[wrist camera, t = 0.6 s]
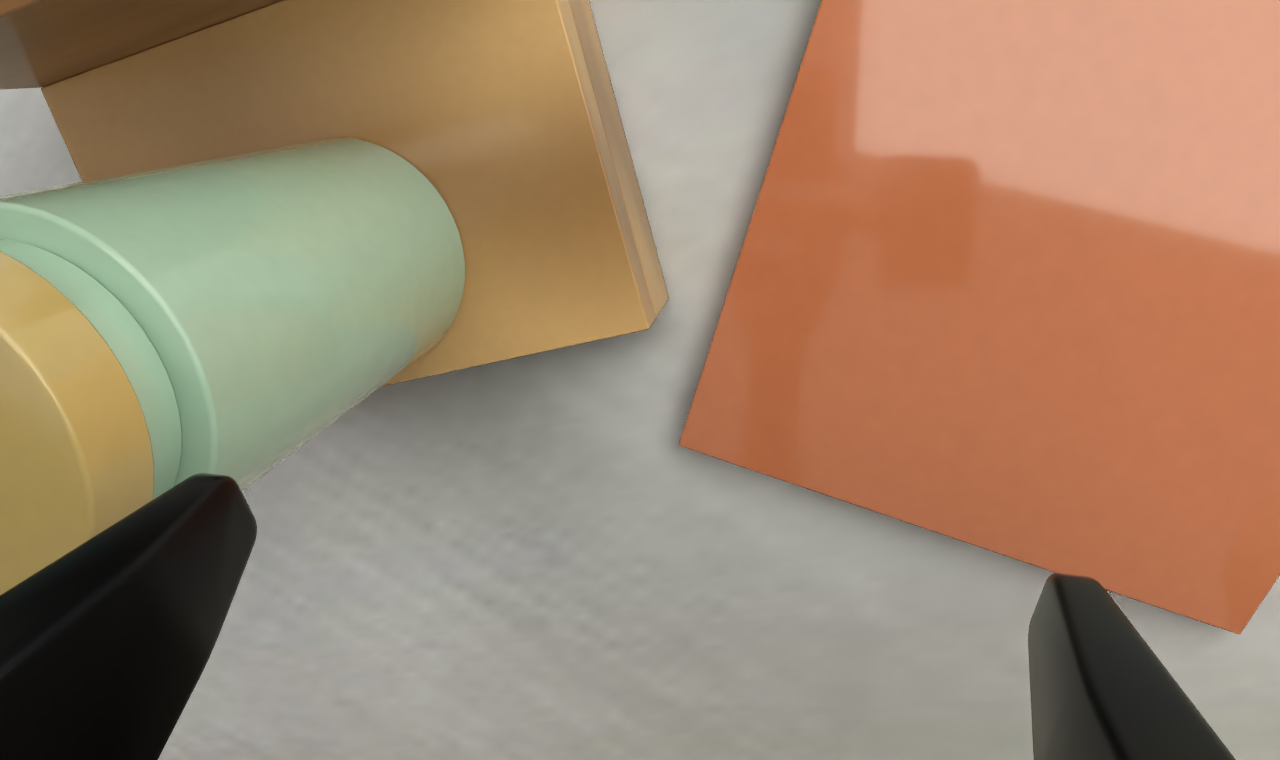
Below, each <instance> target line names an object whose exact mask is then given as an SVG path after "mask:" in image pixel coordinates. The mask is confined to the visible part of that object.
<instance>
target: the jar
mask: <svg viewBox="0 0 1280 760" xmlns="http://www.w3.org/2000/svg"><path fill="white" fill-rule="evenodd" d="M464 283H465V260H464V252H463V246H462V242H461V238H460V234H459V231H458V229H457V226H456V223H455V221H454V218H453V216H452V214H451V212H450V210H449V208H448V206H447V205H446V203H445V201H444V200H443V198H442V197H441V195H440V194H439V192H438V191H437V190H436V188H435V187H434V186H433V185H432V184H431V183H430V181H429V180H428V179H427V178H426V177H425V176H424V175H423V174H422V173H421V172H420V171H419V170H418V169H416V168H415V167H414V166H413V165H412V164H410V163H409V162H408V161H406V160H405V159H403V158H402V157H401V156H399V155H397V154H395V153H394V152H392V151H390V150H388V149H386V148H384V147H381V146H379V145H376V144H374V143H371V142H367V141H363V140H359V139H352V138H342V137H339V138H325V139H319V140H313V141H308V142H302V143H297V144H291V145H285V146H280V147H274V148H269V149H263V150H257V151H252V152H246V153H241V154H235V155H230V156H224V157H218V158H213V159H207V160H202V161H196V162H190V163H185V164H179V165H174V166H168V167H162V168H157V169H151V170H146V171H140V172H134V173H129V174H123V175H118V176H112V177H107V178H101V179H95V180H90V181H84V182H79V183H73V184H67V185H62V186H56V187H51V188H45V189H39V190H34V191H28V192H23V193H17V194H11V195H6V196H0V595H1V594H3V593H5V592H6V591H8V590H9V589H11V588H13V587H14V586H16V585H17V584H19V583H21V582H22V581H24V580H25V579H27V578H29V577H30V576H32V575H33V574H35V573H37V572H38V571H40V570H41V569H43V568H45V567H46V566H48V565H49V564H51V563H53V562H54V561H56V560H57V559H59V558H61V557H62V556H64V555H65V554H67V553H69V552H70V551H72V550H73V549H75V548H77V547H78V546H80V545H81V544H83V543H85V542H86V541H88V540H89V539H91V538H93V537H94V536H96V535H97V534H99V533H101V532H102V531H104V530H105V529H107V528H109V527H110V526H112V525H113V524H115V523H117V522H118V521H120V520H121V519H123V518H125V517H126V516H128V515H129V514H131V513H133V512H134V511H136V510H137V509H139V508H141V507H142V506H144V505H145V504H147V503H149V502H150V501H152V500H153V499H155V498H157V497H158V496H160V495H161V494H163V493H165V492H166V491H168V490H169V489H171V488H173V487H174V486H176V485H177V484H179V483H180V482H182V481H184V480H185V479H187V478H189V477H191V476H192V475H195V474H199V473H209V474H218V475H226V476H230V477H231V478H233V479H234V480H235V481H236V482H237V484H238V486H239V488H240V490H241V492H242V491H243V490H244V489H246V488H247V487H248V486H250V485H251V484H252V483H254V482H255V481H256V480H258V479H259V478H260V477H262V476H263V475H264V474H266V473H267V472H268V471H270V470H271V469H272V468H274V467H275V466H276V465H278V464H279V463H280V462H282V461H283V460H284V459H286V458H287V457H288V456H290V455H291V454H292V453H294V452H295V451H296V450H298V449H299V448H300V447H302V446H303V445H304V444H306V443H307V442H308V441H310V440H311V439H312V438H314V437H315V436H316V435H317V434H319V433H320V432H321V431H323V430H324V429H325V428H327V427H328V426H329V425H331V424H332V423H333V422H335V421H336V420H337V419H339V418H340V417H341V416H343V415H344V414H345V413H347V412H348V411H349V410H351V409H352V408H353V407H355V406H356V405H357V404H359V403H360V402H361V401H363V400H364V399H365V398H367V397H368V396H369V395H371V394H372V393H373V392H375V391H376V390H377V389H379V388H380V387H381V386H383V385H384V384H385V383H387V382H388V381H389V380H391V379H392V378H393V377H394V376H396V375H397V374H398V373H400V372H401V371H402V370H404V369H405V368H406V367H408V366H409V365H410V364H412V363H413V362H414V361H416V360H417V359H418V358H420V357H421V356H422V355H424V354H425V353H426V352H428V351H429V350H430V349H431V348H432V347H433V346H435V345H436V344H437V343H438V342H439V341H440V340H441V338H442V337H443V336H444V335H445V334H446V332H447V331H448V329H449V328H450V326H451V324H452V323H453V321H454V319H455V317H456V314H457V312H458V310H459V307H460V303H461V300H462V296H463V291H464Z"/></svg>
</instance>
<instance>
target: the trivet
mask: <svg viewBox="0 0 1280 760" xmlns="http://www.w3.org/2000/svg"><path fill="white" fill-rule="evenodd" d="M679 445H680V446H682V447H685V448H688V449H691V450H694V451H697V452H700V453H703V454H706V455H709V456H712V457H715V458H718V459H721V460H724V461H727V462H730V463H733V464H735V465H738V466H741V467H744V468H747V469H750V470H753V471H756V472H759V473H762V474H765V475H768V476H771V477H774V478H777V479H780V480H783V481H786V482H789V483H792V484H795V485H798V486H801V487H804V488H807V489H810V490H812V491H815V492H818V493H821V494H824V495H827V496H830V497H833V498H836V499H839V500H842V501H845V502H848V503H851V504H854V505H857V506H860V507H863V508H866V509H869V510H872V511H875V512H878V513H881V514H884V515H887V516H889V517H892V518H895V519H898V520H901V521H904V522H907V523H910V524H913V525H916V526H919V527H922V528H925V529H928V530H931V531H934V532H937V533H940V534H943V535H946V536H949V537H952V538H955V539H958V540H961V541H964V542H967V543H969V544H972V545H975V546H978V547H981V548H984V549H987V550H990V551H993V552H996V553H999V554H1002V555H1005V556H1008V557H1011V558H1014V559H1017V560H1020V561H1023V562H1026V563H1029V564H1032V565H1035V566H1038V567H1041V568H1044V569H1046V570H1049V571H1052V572H1055V573H1062V574H1070V575H1079V576H1087V577H1091V578H1093V579H1095V580H1097V581H1098V582H1099V583H1100V584H1101V585H1102V586H1103V587H1104V589H1106V590H1109V591H1112V592H1115V593H1118V594H1121V595H1123V596H1126V597H1129V598H1132V599H1135V600H1138V601H1141V602H1144V603H1147V604H1150V605H1153V606H1156V607H1159V608H1162V609H1165V610H1168V611H1171V612H1174V613H1177V614H1180V615H1183V616H1186V617H1189V618H1192V619H1195V620H1198V621H1200V622H1203V623H1206V624H1209V625H1212V626H1215V627H1218V628H1221V629H1224V630H1227V631H1230V632H1233V633H1236V634H1241V632H1242V631H1243V629H1244V628H1245V626H1246V625H1247V623H1248V622H1249V620H1250V619H1251V617H1252V616H1253V614H1254V613H1255V611H1256V610H1257V608H1258V607H1259V605H1260V604H1261V602H1262V601H1263V599H1264V598H1265V596H1266V595H1267V594H1268V592H1269V591H1270V589H1271V588H1272V586H1273V585H1274V583H1275V582H1276V580H1277V579H1278V577H1279V576H1280V0H821V3H820V6H819V9H818V12H817V15H816V18H815V21H814V24H813V28H812V31H811V34H810V37H809V40H808V43H807V46H806V49H805V52H804V55H803V59H802V62H801V65H800V68H799V71H798V74H797V77H796V80H795V83H794V87H793V90H792V93H791V96H790V99H789V102H788V105H787V108H786V111H785V115H784V118H783V121H782V124H781V127H780V130H779V133H778V136H777V139H776V142H775V146H774V149H773V152H772V155H771V158H770V161H769V164H768V167H767V170H766V174H765V177H764V180H763V183H762V186H761V189H760V192H759V195H758V198H757V201H756V205H755V208H754V211H753V214H752V217H751V220H750V223H749V226H748V229H747V233H746V236H745V239H744V242H743V245H742V248H741V251H740V254H739V257H738V261H737V264H736V267H735V270H734V273H733V276H732V279H731V282H730V285H729V288H728V292H727V295H726V298H725V301H724V304H723V307H722V310H721V313H720V316H719V320H718V323H717V326H716V329H715V332H714V335H713V338H712V341H711V344H710V348H709V351H708V354H707V357H706V360H705V363H704V366H703V369H702V372H701V375H700V379H699V382H698V385H697V388H696V391H695V394H694V397H693V400H692V403H691V407H690V410H689V413H688V416H687V419H686V422H685V425H684V428H683V431H682V435H681V438H680V441H679Z"/></svg>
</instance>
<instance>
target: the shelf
mask: <svg viewBox="0 0 1280 760" xmlns="http://www.w3.org/2000/svg"><path fill="white" fill-rule="evenodd" d="M37 87H42V88H41V91H42V93H43V95H44V97H45V100H46V102H47V104H48V106H49V108H50V111H51V113H52V115H53V117H54V119H55V122H56V124H57V126H58V128H59V131H60V133H61V135H62V137H63V139H64V142H65V144H66V146H67V148H68V150H69V153H70V155H71V157H72V159H73V162H74V164H75V166H76V168H77V170H78V173H79V175H80V177H81V179H82V181H83V182H84V181H90V180H95V179H101V178H107V177H112V176H118V175H123V174H129V173H134V172H140V171H146V170H151V169H157V168H162V167H168V166H174V165H179V164H185V163H190V162H196V161H202V160H207V159H213V158H218V157H224V156H230V155H235V154H241V153H246V152H252V151H257V150H263V149H269V148H274V147H280V146H285V145H291V144H297V143H302V142H308V141H313V140H319V139H325V138H339V137H342V138H352V139H359V140H363V141H367V142H371V143H374V144H376V145H379V146H381V147H384V148H386V149H388V150H390V151H392V152H394V153H395V154H397V155H399V156H401V157H402V158H403V159H405V160H406V161H408V162H409V163H410V164H412V165H413V166H414V167H415V168H416V169H418V170H419V171H420V172H421V173H422V174H423V175H424V176H425V177H426V178H427V179H428V180H429V181H430V183H431V184H432V185H433V186H434V187H435V188H436V190H437V191H438V192H439V194H440V195H441V197H442V198H443V200H444V201H445V203H446V205H447V206H448V208H449V210H450V212H451V214H452V216H453V218H454V221H455V223H456V226H457V229H458V231H459V234H460V238H461V242H462V246H463V252H464V260H465V283H464V291H463V296H462V300H461V303H460V307H459V310H458V312H457V314H456V317H455V319H454V321H453V323H452V324H451V326H450V328H449V329H448V331H447V332H446V334H445V335H444V336H443V337H442V338H441V340H440V341H439V342H438V343H437V344H436V345H435V346H433V347H432V348H431V349H430V350H429V351H428V352H426V353H425V354H424V355H422V356H421V357H420V358H418V359H417V360H416V361H414V362H413V363H412V364H410V365H409V366H408V367H406V368H405V369H404V370H402V371H401V372H400V373H398V374H397V375H396V376H394V377H393V378H392V379H391V380H389V381H388V382H387V383H385V384H384V385H383V386H386V385H391V384H395V383H400V382H405V381H409V380H414V379H419V378H423V377H428V376H433V375H437V374H442V373H447V372H451V371H456V370H461V369H466V368H470V367H475V366H480V365H484V364H489V363H494V362H498V361H503V360H508V359H512V358H517V357H522V356H526V355H531V354H536V353H540V352H545V351H550V350H555V349H559V348H564V347H569V346H573V345H578V344H583V343H587V342H592V341H597V340H601V339H606V338H611V337H615V336H620V335H625V334H629V333H634V332H639V331H644V330H648V329H649V328H650V326H651V325H652V323H653V322H654V320H655V319H656V317H657V316H658V314H659V313H660V311H661V310H662V308H663V306H664V305H665V303H666V302H667V300H668V299H669V296H668V292H667V289H666V285H665V281H664V277H663V274H662V270H661V266H660V263H659V259H658V255H657V251H656V248H655V244H654V240H653V237H652V233H651V229H650V226H649V222H648V218H647V214H646V211H645V207H644V203H643V200H642V196H641V192H640V188H639V185H638V181H637V177H636V174H635V170H634V166H633V162H632V159H631V155H630V151H629V148H628V144H627V140H626V136H625V133H624V129H623V125H622V122H621V118H620V114H619V111H618V107H617V103H616V99H615V96H614V92H613V88H612V85H611V81H610V77H609V73H608V70H607V66H606V62H605V59H604V55H603V51H602V47H601V44H600V40H599V36H598V33H597V29H596V25H595V21H594V18H593V14H592V10H591V7H590V3H589V0H0V89H17V88H37Z"/></svg>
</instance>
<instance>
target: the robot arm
mask: <svg viewBox="0 0 1280 760" xmlns="http://www.w3.org/2000/svg"><path fill="white" fill-rule="evenodd" d="M256 534H257V525H256V520H255V518H254V516H253V514H252V512H251V510H250V508H249V506H248V504H247V502H246V500H245V498H244V496H243V494H242V492H241V490H240V488H239V486H238V484H237V482H236V481H235V480H234V479H233V478H231V477H230V476H226V475H218V474H209V473H199V474H195V475H192V476H191V477H189V478H187V479H185V480H184V481H182V482H180V483H179V484H177V485H176V486H174V487H173V488H171V489H169V490H168V491H166V492H165V493H163V494H161V495H160V496H158V497H157V498H155V499H153V500H152V501H150V502H149V503H147V504H145V505H144V506H142V507H141V508H139V509H137V510H136V511H134V512H133V513H131V514H129V515H128V516H126V517H125V518H123V519H121V520H120V521H118V522H117V523H115V524H113V525H112V526H110V527H109V528H107V529H105V530H104V531H102V532H101V533H99V534H97V535H96V536H94V537H93V538H91V539H89V540H88V541H86V542H85V543H83V544H81V545H80V546H78V547H77V548H75V549H73V550H72V551H70V552H69V553H67V554H65V555H64V556H62V557H61V558H59V559H57V560H56V561H54V562H53V563H51V564H49V565H48V566H46V567H45V568H43V569H41V570H40V571H38V572H37V573H35V574H33V575H32V576H30V577H29V578H27V579H25V580H24V581H22V582H21V583H19V584H17V585H16V586H14V587H13V588H11V589H9V590H8V591H6V592H5V593H3V594H1V595H0V760H158V758H159V756H160V754H161V752H162V750H163V748H164V746H165V744H166V742H167V740H168V738H169V736H170V735H171V733H172V731H173V729H174V727H175V725H176V723H177V721H178V719H179V717H180V715H181V713H182V711H183V709H184V707H185V705H186V703H187V701H188V699H189V697H190V695H191V693H192V692H193V690H194V688H195V686H196V684H197V682H198V680H199V678H200V676H201V674H202V672H203V670H204V668H205V665H206V663H207V661H208V659H209V657H210V655H211V652H212V650H213V648H214V645H215V643H216V641H217V638H218V636H219V633H220V631H221V628H222V625H223V623H224V620H225V618H226V615H227V613H228V610H229V607H230V605H231V602H232V600H233V597H234V595H235V592H236V589H237V587H238V584H239V582H240V579H241V577H242V574H243V571H244V569H245V566H246V564H247V561H248V559H249V556H250V553H251V551H252V548H253V546H254V543H255V540H256ZM1028 649H1029V669H1030V690H1031V711H1032V732H1033V753H1034V760H1236V759H1235V758H1234V757H1233V756H1232V754H1231V753H1230V752H1229V750H1228V749H1227V748H1226V746H1225V745H1224V744H1223V743H1222V741H1221V740H1220V739H1219V737H1218V736H1217V735H1216V733H1215V732H1214V731H1213V730H1212V728H1211V727H1210V726H1209V724H1208V723H1207V722H1206V720H1205V719H1204V718H1203V716H1202V715H1201V714H1200V713H1199V711H1198V710H1197V709H1196V707H1195V706H1194V705H1193V703H1192V702H1191V701H1190V700H1189V698H1188V697H1187V696H1186V694H1185V693H1184V692H1183V690H1182V689H1181V688H1180V686H1179V685H1178V684H1177V683H1176V681H1175V680H1174V679H1173V677H1172V676H1171V675H1170V673H1169V672H1168V671H1167V670H1166V668H1165V667H1164V666H1163V664H1162V663H1161V662H1160V660H1159V659H1158V658H1157V656H1156V655H1155V654H1154V653H1153V651H1152V650H1151V649H1150V647H1149V646H1148V645H1147V643H1146V642H1145V641H1144V640H1143V638H1142V637H1141V636H1140V634H1139V633H1138V632H1137V630H1136V629H1135V628H1134V626H1133V625H1132V624H1131V623H1130V621H1129V620H1128V619H1127V617H1126V616H1125V615H1124V613H1123V612H1122V611H1121V610H1120V608H1119V607H1118V606H1117V604H1116V603H1115V602H1114V600H1113V599H1112V598H1111V596H1110V595H1109V594H1108V593H1107V591H1106V590H1105V589H1104V587H1103V586H1102V585H1101V584H1100V583H1099V582H1098V581H1097V580H1095V579H1093V578H1091V577H1087V576H1079V575H1070V574H1062V573H1054V574H1052V575H1051V576H1050V577H1049V578H1048V579H1047V581H1046V583H1045V585H1044V588H1043V590H1042V593H1041V595H1040V598H1039V601H1038V603H1037V606H1036V608H1035V611H1034V613H1033V616H1032V618H1031V621H1030V626H1029V634H1028Z"/></svg>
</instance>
